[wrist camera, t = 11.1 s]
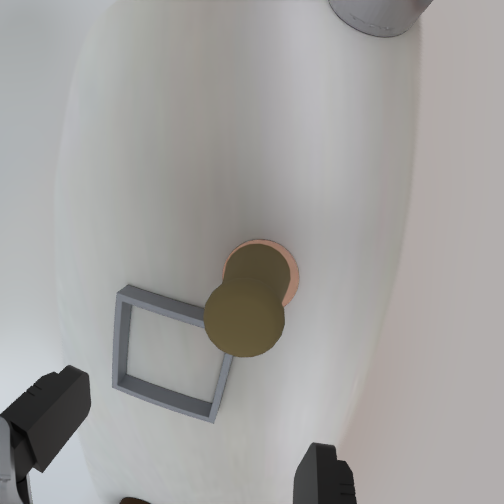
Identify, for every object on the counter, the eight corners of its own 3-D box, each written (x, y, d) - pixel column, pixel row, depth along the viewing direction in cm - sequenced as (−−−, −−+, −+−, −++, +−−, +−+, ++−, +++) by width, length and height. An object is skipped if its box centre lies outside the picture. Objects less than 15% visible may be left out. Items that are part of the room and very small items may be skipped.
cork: (268, 230, 28) (257, 262, 18) (302, 287, 29) (309, 347, 18) (211, 264, 30) (171, 311, 19) (246, 317, 30) (226, 385, 20)
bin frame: (127, 284, 32) (116, 292, 29) (242, 320, 31) (238, 331, 29) (121, 376, 35) (112, 387, 32) (218, 409, 34) (213, 423, 32)
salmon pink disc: (233, 230, 29) (232, 231, 29) (308, 250, 29) (308, 252, 28) (216, 300, 31) (215, 302, 30) (286, 319, 31) (286, 321, 30)
